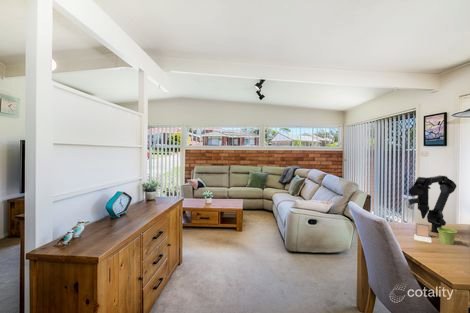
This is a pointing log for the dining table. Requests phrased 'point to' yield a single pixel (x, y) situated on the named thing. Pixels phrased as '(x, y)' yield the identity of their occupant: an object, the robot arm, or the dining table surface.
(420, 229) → the slate tile
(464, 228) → the dining table surface
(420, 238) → the white rectangular board
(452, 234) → the plant pot
